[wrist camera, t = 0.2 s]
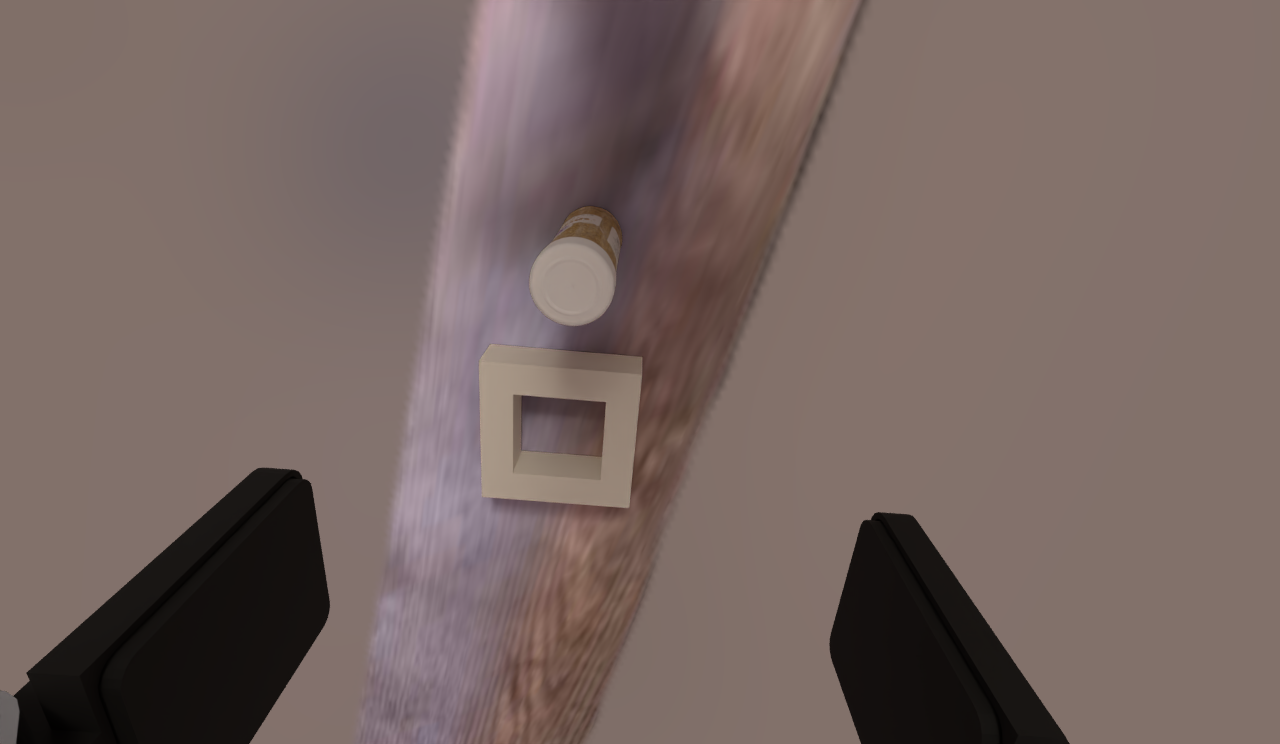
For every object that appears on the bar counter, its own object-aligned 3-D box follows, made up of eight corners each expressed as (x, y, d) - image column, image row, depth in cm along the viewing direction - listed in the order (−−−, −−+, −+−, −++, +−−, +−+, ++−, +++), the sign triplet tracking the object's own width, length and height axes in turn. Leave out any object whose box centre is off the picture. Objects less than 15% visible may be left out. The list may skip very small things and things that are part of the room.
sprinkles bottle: (577, 193, 42) (549, 227, 30) (634, 224, 43) (630, 269, 31) (550, 250, 44) (513, 304, 31) (605, 279, 44) (590, 342, 32)
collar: (490, 344, 47) (478, 361, 43) (642, 356, 47) (642, 374, 44) (492, 472, 51) (481, 496, 48) (630, 483, 52) (629, 508, 49)
